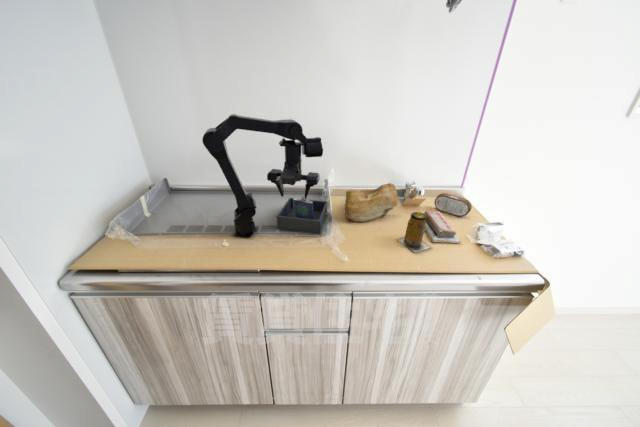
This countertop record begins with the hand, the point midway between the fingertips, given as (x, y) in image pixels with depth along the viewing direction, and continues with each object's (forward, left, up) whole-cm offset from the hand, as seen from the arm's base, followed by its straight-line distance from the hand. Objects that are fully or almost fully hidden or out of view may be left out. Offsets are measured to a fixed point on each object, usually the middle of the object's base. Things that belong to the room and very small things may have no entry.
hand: (294, 197), depth 93 cm
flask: (+2, +5, -12) cm, 13 cm away
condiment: (+47, -3, -13) cm, 48 cm away
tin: (+67, +26, -13) cm, 72 cm away
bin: (+3, +5, -13) cm, 14 cm away
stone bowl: (+29, +17, -13) cm, 35 cm away
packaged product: (+57, +9, -13) cm, 59 cm away
